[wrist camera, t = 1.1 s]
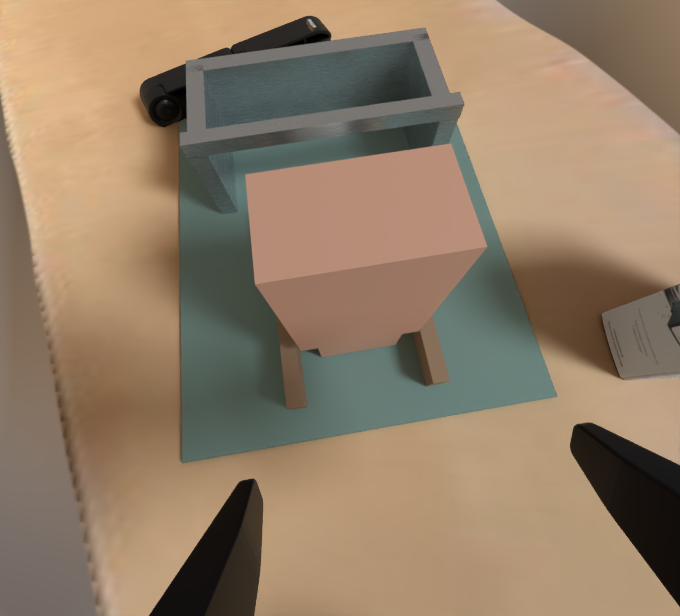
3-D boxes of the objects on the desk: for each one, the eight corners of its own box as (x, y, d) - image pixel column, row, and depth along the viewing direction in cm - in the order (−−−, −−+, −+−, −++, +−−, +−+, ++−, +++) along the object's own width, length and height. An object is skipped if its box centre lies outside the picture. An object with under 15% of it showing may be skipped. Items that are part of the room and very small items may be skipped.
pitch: (554, 396, 21) (578, 394, 19) (184, 462, 21) (164, 467, 18) (441, 87, 30) (448, 61, 28) (180, 124, 29) (166, 101, 27)
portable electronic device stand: (160, 133, 30) (140, 103, 27) (151, 114, 30) (131, 83, 28) (333, 60, 32) (332, 26, 29) (321, 45, 33) (318, 9, 30)
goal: (435, 182, 26) (464, 103, 20) (222, 215, 26) (179, 145, 19) (410, 103, 29) (428, 11, 23) (217, 131, 29) (178, 45, 22)
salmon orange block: (409, 342, 22) (487, 246, 10) (307, 359, 22) (254, 284, 10) (396, 288, 23) (451, 143, 11) (299, 304, 23) (244, 174, 11)
